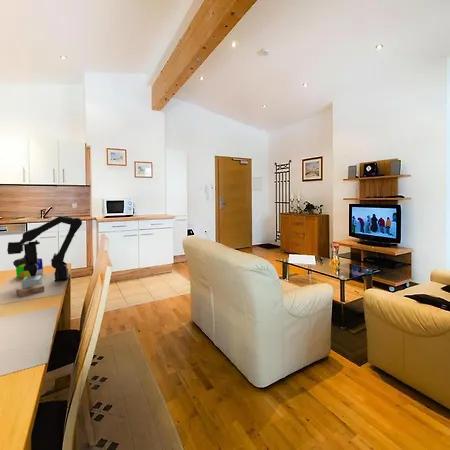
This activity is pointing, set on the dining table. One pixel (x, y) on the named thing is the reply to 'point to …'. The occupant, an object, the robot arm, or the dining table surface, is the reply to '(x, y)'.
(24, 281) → the block
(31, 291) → the board
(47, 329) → the dining table surface
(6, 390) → the dining table surface
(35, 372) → the dining table surface
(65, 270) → the robot arm
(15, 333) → the dining table surface
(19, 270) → the puzzle toy
